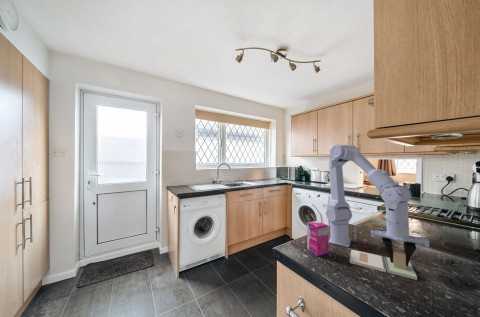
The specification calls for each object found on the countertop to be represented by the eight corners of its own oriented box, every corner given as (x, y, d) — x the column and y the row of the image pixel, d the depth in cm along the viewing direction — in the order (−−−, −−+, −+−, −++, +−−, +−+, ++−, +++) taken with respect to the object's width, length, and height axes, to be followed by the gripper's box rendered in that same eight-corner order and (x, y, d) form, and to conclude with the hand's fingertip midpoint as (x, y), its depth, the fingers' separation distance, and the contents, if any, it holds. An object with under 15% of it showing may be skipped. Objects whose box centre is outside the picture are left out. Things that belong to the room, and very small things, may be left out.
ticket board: (351, 251, 72) (351, 249, 72) (383, 259, 66) (383, 256, 66) (349, 263, 64) (349, 259, 64) (386, 272, 58) (385, 268, 58)
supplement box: (306, 250, 73) (306, 222, 74) (318, 248, 75) (317, 220, 76) (317, 257, 68) (316, 226, 68) (329, 254, 70) (328, 224, 70)
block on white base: (384, 259, 66) (383, 242, 66) (410, 265, 62) (409, 247, 62) (387, 272, 58) (386, 253, 58) (417, 280, 54) (416, 260, 54)
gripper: (371, 221, 61) (372, 261, 61) (431, 229, 53) (433, 276, 53) (370, 216, 67) (371, 253, 67) (424, 223, 59) (426, 265, 58)
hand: (398, 263), depth 60 cm, fingers closed on block on white base, 3 cm apart
